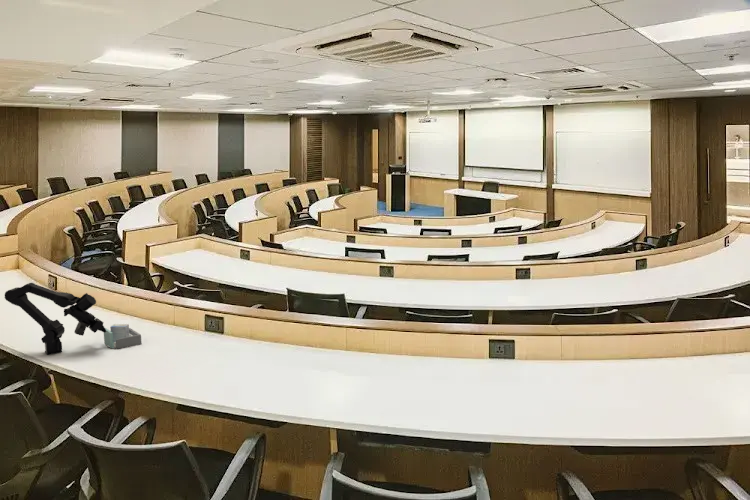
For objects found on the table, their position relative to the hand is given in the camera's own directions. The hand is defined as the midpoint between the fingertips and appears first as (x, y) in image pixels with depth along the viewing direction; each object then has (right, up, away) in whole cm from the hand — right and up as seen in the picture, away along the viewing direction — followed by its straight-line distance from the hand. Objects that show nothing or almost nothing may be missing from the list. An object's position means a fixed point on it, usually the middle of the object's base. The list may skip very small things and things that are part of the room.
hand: (105, 331), depth 284 cm
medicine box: (+5, -6, +5) cm, 10 cm away
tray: (+5, -7, +5) cm, 10 cm away
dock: (+7, -7, +7) cm, 12 cm away
